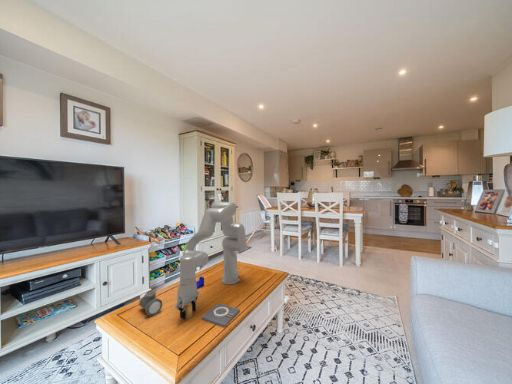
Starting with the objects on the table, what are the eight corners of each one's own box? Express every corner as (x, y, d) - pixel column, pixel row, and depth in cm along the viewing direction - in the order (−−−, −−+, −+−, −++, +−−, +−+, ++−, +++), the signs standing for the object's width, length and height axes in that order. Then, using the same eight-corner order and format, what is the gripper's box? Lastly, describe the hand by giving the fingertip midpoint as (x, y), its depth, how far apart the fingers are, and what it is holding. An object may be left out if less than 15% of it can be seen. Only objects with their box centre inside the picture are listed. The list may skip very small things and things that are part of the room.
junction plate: (218, 304, 113) (218, 301, 113) (239, 311, 107) (239, 307, 107) (201, 319, 101) (201, 315, 101) (224, 327, 95) (224, 323, 95)
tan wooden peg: (188, 313, 106) (188, 299, 106) (193, 315, 104) (193, 300, 104) (182, 317, 103) (182, 302, 103) (188, 319, 101) (188, 304, 101)
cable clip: (199, 284, 139) (199, 275, 139) (204, 286, 136) (204, 277, 136) (184, 291, 129) (184, 282, 129) (189, 293, 126) (188, 284, 126)
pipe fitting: (163, 311, 107) (162, 292, 107) (147, 319, 101) (147, 299, 101) (152, 304, 115) (151, 286, 114) (136, 311, 108) (136, 292, 108)
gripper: (194, 272, 113) (194, 303, 113) (168, 285, 97) (169, 322, 97) (204, 274, 109) (205, 307, 110) (180, 288, 94) (180, 326, 94)
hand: (188, 313), depth 104 cm, fingers open, 6 cm apart
